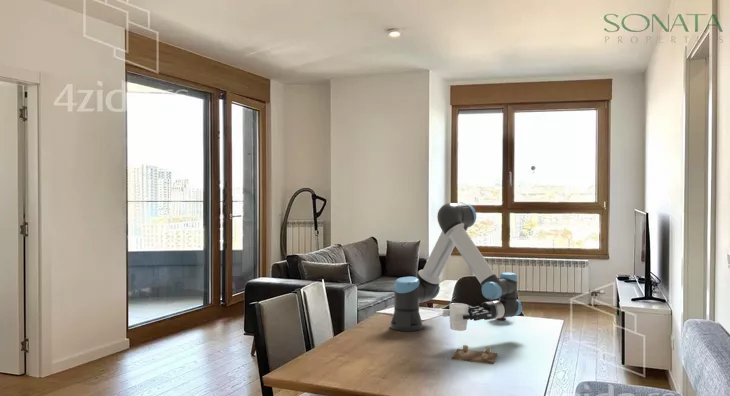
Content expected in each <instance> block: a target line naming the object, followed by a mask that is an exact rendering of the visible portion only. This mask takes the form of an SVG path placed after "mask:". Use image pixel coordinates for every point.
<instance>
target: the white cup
mask: <svg viewBox="0 0 730 396" xmlns="http://www.w3.org/2000/svg"><path fill="white" fill-rule="evenodd" d="M469 306H470V305H469V304H466V303H462V302H461V303H460V302H453V303H450V304H449V309H450V316H449V323H450V325H449V327H450V329H451V330H453V331H456V332H457V331H458V332H463V331H466V330H467V329H468V328H467V327H468V326H467V325H468V320H462V321H455V314H462V313H468V307H469Z"/></svg>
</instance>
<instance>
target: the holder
mask: <svg viewBox="0 0 730 396" xmlns="http://www.w3.org/2000/svg"><path fill="white" fill-rule="evenodd" d="M484 349H485V350H484V351H482V350H481V351H480V350H472V349H471V350H470V349H469V346H468V345H467V344H463V345H462V348H457V349H456V350H455V352H454V353H453V354H452V356H451V360H453V361H460V362H461V361H462V362H471V363H472V362H473V363H481V364H490V365H494V363H496V359H497V357H498V352H493V351H491V347H488V346H487V347H485V348H484Z"/></svg>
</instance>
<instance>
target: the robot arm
mask: <svg viewBox="0 0 730 396" xmlns="http://www.w3.org/2000/svg"><path fill="white" fill-rule="evenodd" d="M436 217H437V223H438V226H439V228H440V229H441V233H440V235H439V236H438V237H437V238H438V239H437V241H436V243H435V245H434V246H433V249H432V250H431V252H430V255H429V257H428V259H427V261H426V263H425V264H424V267H423V269H420V270H418V271H417V273H416V275H415V276H403V277H399V278H397V279H396V280H395V281H394V287H393V291H394V295H393V296H394V298H393V299H394V304H393V305H394V309H393V310H394V311H393V314H392V318H391V320H390V328H391V329H392V330H394V331H400V332H416V331H420V330H422V329H423V326H424V325H423V320H422V318H421V315H420V303H424V302H428V301H429V302H430V301H432V300H433V299H435V298H436V297H438V295H439V293H440V289H441V286H440V284H441V279H440V276H441V274H442V273H443V271H444V268H445V266H446V265H447V262H448V261H449V259H450V257H451V255H452V253H453V250H454V249H455V248H456V249H457V251H458V253H459V254H460V256H461V257H462V258H463V260H464V262H465V263H466V264H467V266H468V267H469V269H470V270H471V272H472V273H473V275H474V276H475V277H476V279H477V280H478V282H479V283H480V286H481V295H482V296H483V297H484V298H485V299H487V300H489V301H485V302H481V303H480V305H476V306H472V305H468V306H469V307H468V313H462V314H455V321H462V320H467V321H468V320H469V321H472V320H473V321H480V320H481V321H482V320H484V321H488V320H493V319H494V320H495V321H498V320H497V318H504V317H505V318H512V317H516V316H519V315H521V313H522V311H523V306H522V302H521V301H520V300H519V299H517V298H518V297H517V295H518V275H517V274H516V273H515V272H511V271H508V272H500V274H499V277H498V276H497V275H496V273H495V272H494V270H493V269H492V268H491V266H490V265H489V263H488V262H487V260H486V258H485V257H484V256H483V254H482V253H481V251H480V250H479V248H478V247H477V246H476V244H475V243H474V241H473V240H472V238H471V237H470V235H469V234H468V232H467V230H468V229H469V228H471V227H472V226H473V225H474V224H475V223H476V221H477V213H476V209H475V208H474V206H472V205H471V204H469V203H467V202H461V201H460V202H448V203H444V204H443V205H442V206H441V207H440V208H439V210H438V212H437V216H436ZM498 298H499V301H490V300H492V299H498ZM442 317H443V318H444V317H445V318H446V317H450V308H449V309H443V310H442Z"/></svg>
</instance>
